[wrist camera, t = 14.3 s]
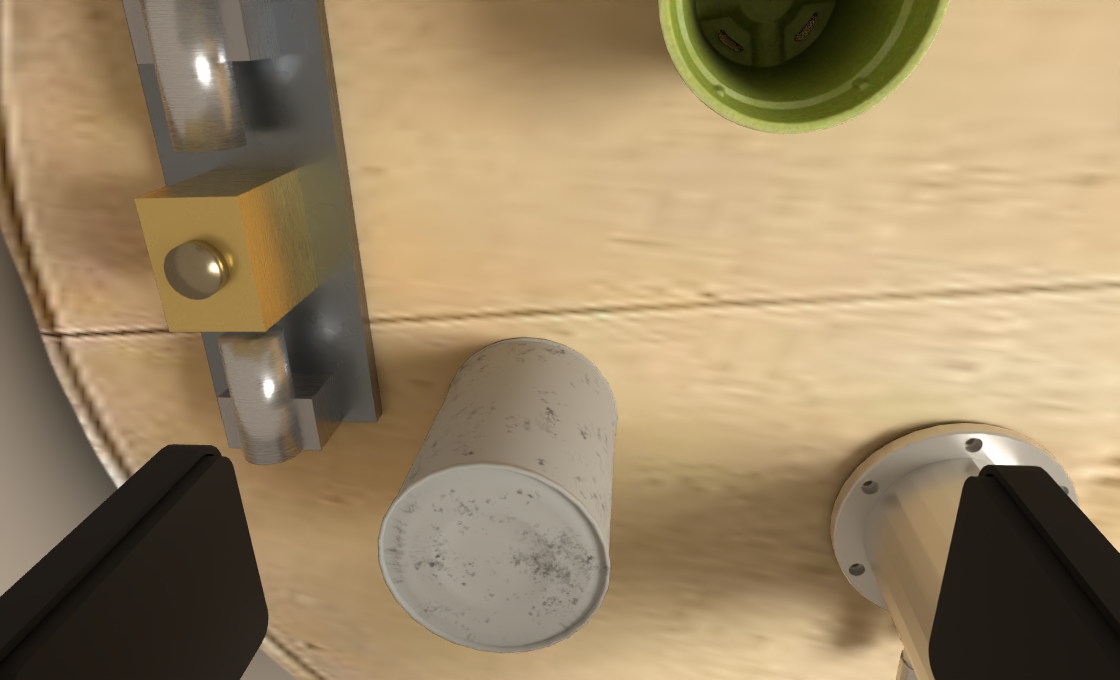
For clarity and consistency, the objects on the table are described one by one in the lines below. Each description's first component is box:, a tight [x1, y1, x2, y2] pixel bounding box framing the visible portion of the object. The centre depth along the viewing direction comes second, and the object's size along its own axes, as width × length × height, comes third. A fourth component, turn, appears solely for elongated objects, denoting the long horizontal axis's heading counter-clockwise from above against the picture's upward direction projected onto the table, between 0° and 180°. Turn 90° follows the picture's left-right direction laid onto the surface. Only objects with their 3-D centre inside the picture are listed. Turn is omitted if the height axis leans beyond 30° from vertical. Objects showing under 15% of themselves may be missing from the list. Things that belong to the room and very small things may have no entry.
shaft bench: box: [122, 0, 382, 465], centre depth 36 cm, size 22×9×6 cm, turn 2°
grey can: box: [378, 337, 618, 653], centre depth 36 cm, size 10×10×12 cm
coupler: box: [134, 169, 318, 332], centre depth 34 cm, size 6×4×7 cm
